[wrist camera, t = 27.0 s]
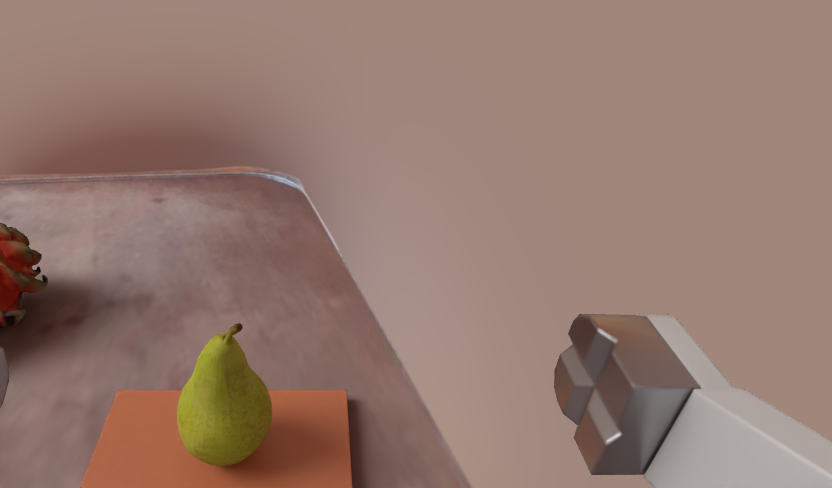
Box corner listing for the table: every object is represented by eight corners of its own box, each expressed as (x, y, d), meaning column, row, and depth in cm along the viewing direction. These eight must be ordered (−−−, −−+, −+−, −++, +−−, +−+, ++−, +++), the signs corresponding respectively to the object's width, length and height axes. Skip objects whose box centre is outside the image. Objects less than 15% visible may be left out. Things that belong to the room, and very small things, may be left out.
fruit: (210, 403, 39) (204, 263, 33) (286, 429, 39) (294, 290, 32) (157, 469, 35) (138, 320, 28) (243, 501, 34) (242, 353, 28)
